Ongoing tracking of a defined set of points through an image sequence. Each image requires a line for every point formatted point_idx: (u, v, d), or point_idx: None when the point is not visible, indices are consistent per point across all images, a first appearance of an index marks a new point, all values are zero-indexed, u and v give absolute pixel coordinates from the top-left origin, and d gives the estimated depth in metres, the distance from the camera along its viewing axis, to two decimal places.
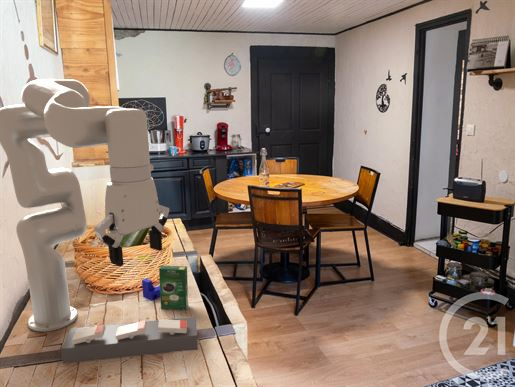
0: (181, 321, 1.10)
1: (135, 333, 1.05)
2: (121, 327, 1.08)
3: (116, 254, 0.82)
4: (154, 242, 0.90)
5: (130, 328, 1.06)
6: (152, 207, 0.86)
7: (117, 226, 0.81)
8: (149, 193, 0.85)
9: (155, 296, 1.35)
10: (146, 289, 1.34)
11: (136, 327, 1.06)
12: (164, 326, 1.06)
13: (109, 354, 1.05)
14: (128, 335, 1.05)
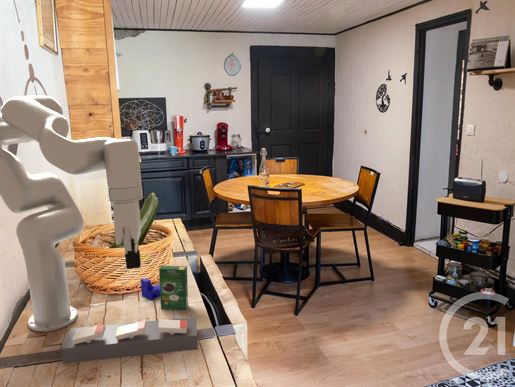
0: (181, 321, 1.10)
1: (135, 333, 1.05)
2: (121, 327, 1.08)
3: (135, 258, 1.02)
4: None
5: (130, 328, 1.06)
6: None
7: (133, 236, 0.97)
8: None
9: (154, 295, 1.35)
10: (145, 288, 1.34)
11: (136, 327, 1.06)
12: (164, 326, 1.06)
13: (109, 354, 1.05)
14: (128, 335, 1.05)
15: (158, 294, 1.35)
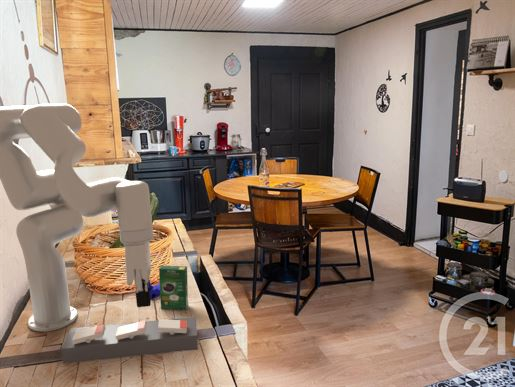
0: (181, 321, 1.10)
1: (135, 333, 1.05)
2: (121, 327, 1.08)
3: (146, 297, 1.04)
4: None
5: (130, 328, 1.06)
6: None
7: (144, 277, 0.99)
8: None
9: (153, 295, 1.35)
10: None
11: (136, 327, 1.06)
12: (164, 326, 1.06)
13: (109, 354, 1.05)
14: (128, 335, 1.05)
15: (157, 294, 1.36)
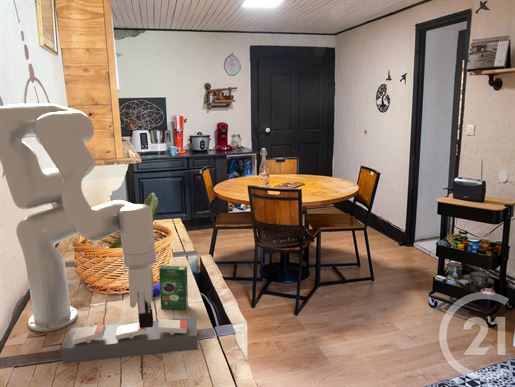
0: (181, 321, 1.10)
1: (135, 333, 1.05)
2: (121, 327, 1.08)
3: (148, 318, 1.06)
4: None
5: (130, 328, 1.06)
6: None
7: (147, 300, 1.00)
8: None
9: None
10: None
11: (136, 327, 1.06)
12: (164, 326, 1.06)
13: (109, 354, 1.05)
14: (128, 335, 1.05)
15: (156, 293, 1.36)
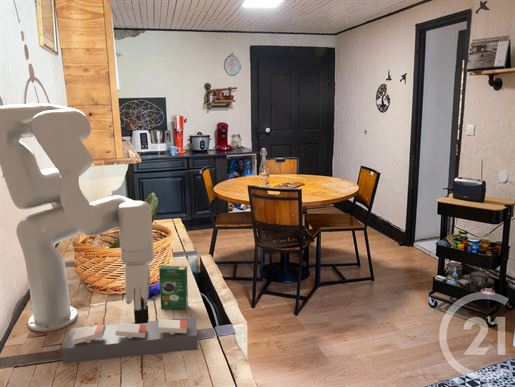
0: (181, 321, 1.10)
1: (135, 335, 1.05)
2: (122, 324, 1.08)
3: (144, 314, 1.06)
4: None
5: (131, 328, 1.06)
6: None
7: (144, 297, 1.00)
8: None
9: (151, 294, 1.36)
10: None
11: (137, 329, 1.07)
12: (164, 326, 1.06)
13: (109, 354, 1.05)
14: (128, 334, 1.05)
15: (156, 293, 1.36)
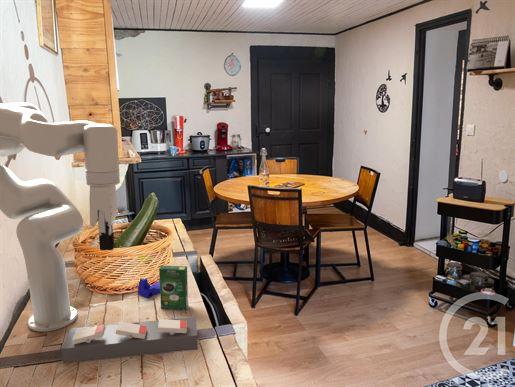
0: (181, 321, 1.10)
1: (135, 335, 1.05)
2: (122, 323, 1.08)
3: (109, 241, 1.06)
4: None
5: (131, 328, 1.07)
6: (116, 202, 1.07)
7: (107, 219, 1.00)
8: None
9: (150, 294, 1.36)
10: (141, 287, 1.35)
11: (137, 329, 1.07)
12: (164, 326, 1.06)
13: (109, 354, 1.05)
14: (128, 334, 1.05)
15: (154, 292, 1.36)
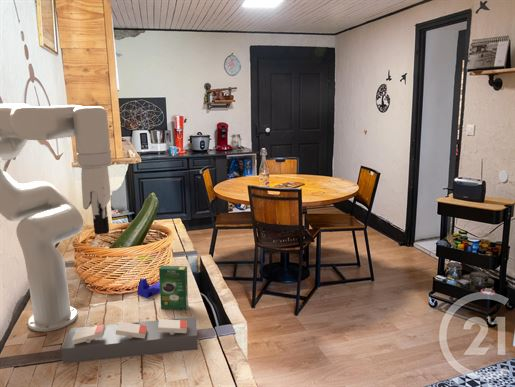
0: (181, 321, 1.10)
1: (135, 335, 1.05)
2: (122, 323, 1.08)
3: (103, 224, 1.05)
4: None
5: (131, 328, 1.07)
6: (109, 185, 1.07)
7: (100, 201, 1.00)
8: (108, 174, 1.06)
9: (150, 294, 1.36)
10: (140, 287, 1.35)
11: (137, 329, 1.07)
12: (164, 326, 1.06)
13: (109, 354, 1.05)
14: (128, 334, 1.05)
15: (154, 292, 1.37)
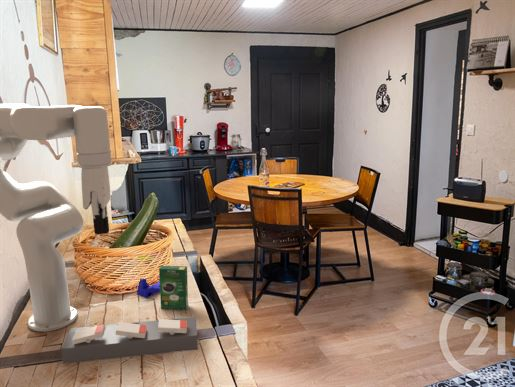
0: (181, 321, 1.10)
1: (135, 335, 1.05)
2: (122, 323, 1.08)
3: (103, 224, 1.05)
4: None
5: (131, 328, 1.07)
6: (109, 185, 1.07)
7: (100, 201, 1.00)
8: (108, 174, 1.06)
9: (149, 293, 1.37)
10: (140, 286, 1.35)
11: (137, 329, 1.07)
12: (164, 326, 1.06)
13: (109, 354, 1.05)
14: (128, 334, 1.05)
15: (153, 292, 1.37)
